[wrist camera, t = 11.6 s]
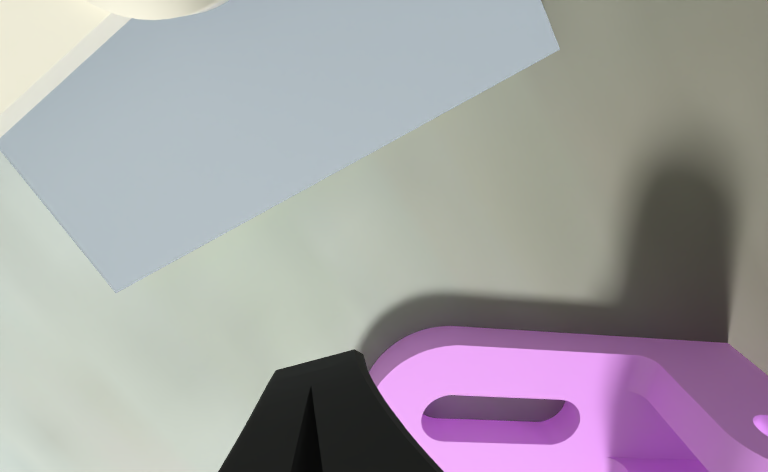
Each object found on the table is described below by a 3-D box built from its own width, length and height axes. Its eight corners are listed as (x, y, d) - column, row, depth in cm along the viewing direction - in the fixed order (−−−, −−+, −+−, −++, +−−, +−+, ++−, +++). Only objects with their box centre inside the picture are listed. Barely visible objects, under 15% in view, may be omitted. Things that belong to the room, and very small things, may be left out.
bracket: (725, 340, 23) (893, 478, 16) (679, 464, 24) (814, 631, 18) (372, 318, 20) (404, 466, 14) (352, 455, 22) (373, 641, 16)
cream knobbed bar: (169, -251, 12) (131, -318, 9) (306, -68, 13) (307, -83, 11) (-174, 85, 13) (-289, 107, 11) (-16, 219, 15) (-84, 266, 12)
